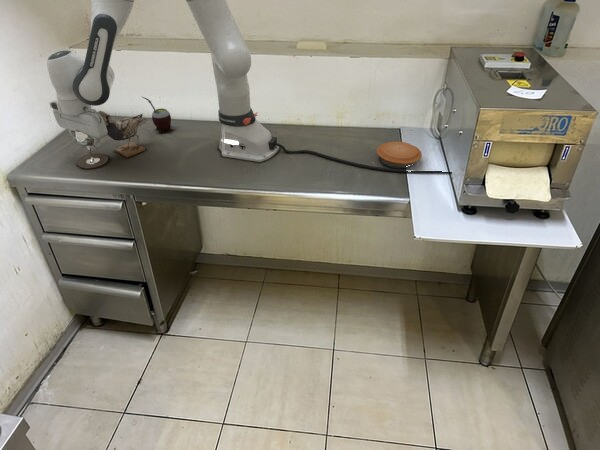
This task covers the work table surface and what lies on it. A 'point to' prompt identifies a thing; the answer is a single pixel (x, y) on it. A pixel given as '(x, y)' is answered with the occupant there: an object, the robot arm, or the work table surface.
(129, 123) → the stuffed bird
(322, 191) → the work table surface
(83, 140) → the wineglass
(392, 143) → the pie
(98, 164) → the coaster
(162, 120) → the mate gourd
